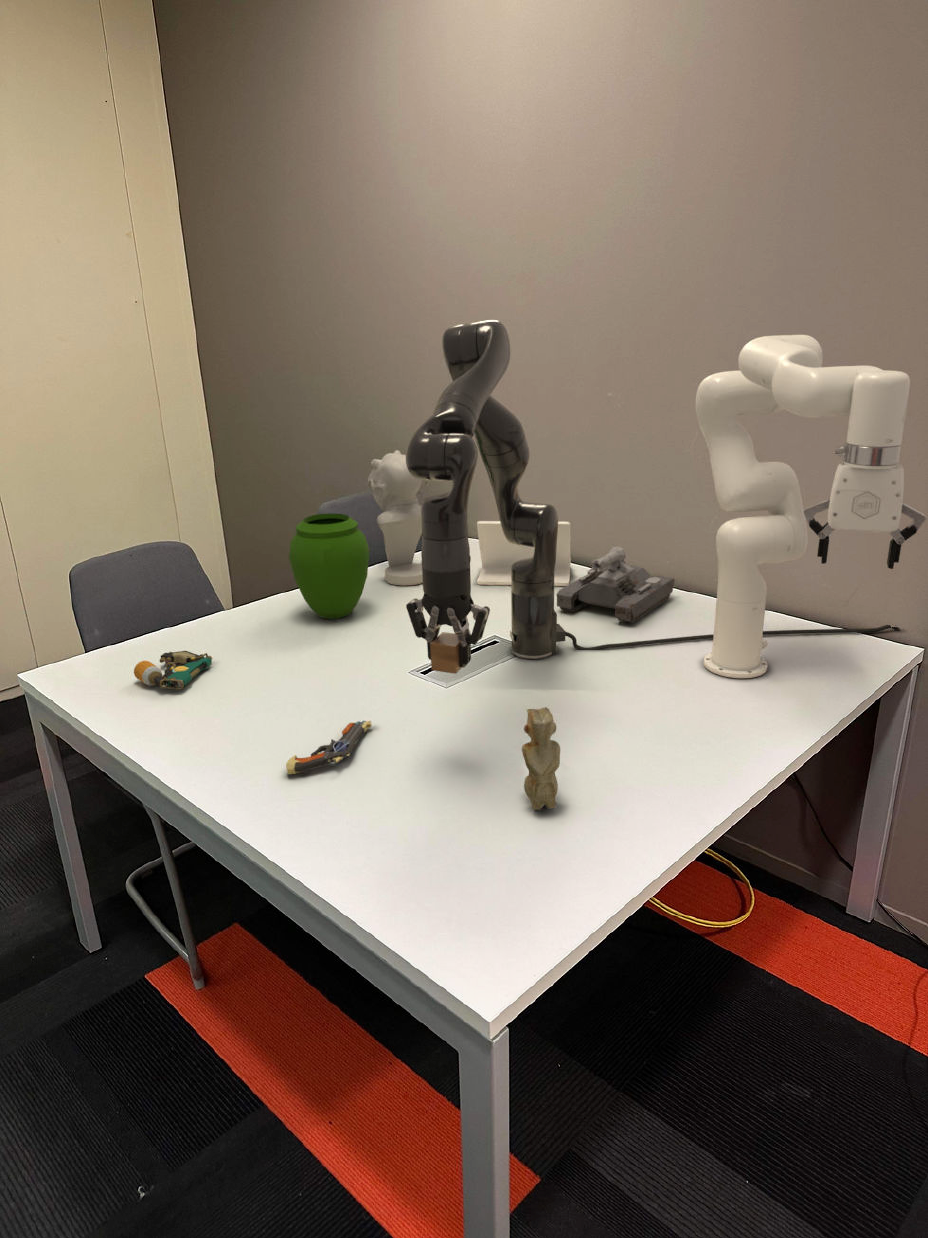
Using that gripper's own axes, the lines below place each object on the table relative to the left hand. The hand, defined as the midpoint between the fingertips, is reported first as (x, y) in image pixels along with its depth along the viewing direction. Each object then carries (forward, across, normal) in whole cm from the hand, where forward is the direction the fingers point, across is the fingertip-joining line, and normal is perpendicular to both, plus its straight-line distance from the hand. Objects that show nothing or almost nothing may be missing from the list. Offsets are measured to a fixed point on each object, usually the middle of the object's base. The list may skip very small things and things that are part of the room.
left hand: (449, 663), depth 139 cm
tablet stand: (+18, -19, +101) cm, 104 cm away
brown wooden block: (0, 0, 0) cm, 0 cm away
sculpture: (+18, +18, -8) cm, 26 cm away
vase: (+18, -55, +57) cm, 81 cm away
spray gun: (+18, -69, +13) cm, 72 cm away
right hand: (-14, +60, +26) cm, 67 cm away
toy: (+18, +10, +84) cm, 86 cm away
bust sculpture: (+18, -53, +89) cm, 106 cm away
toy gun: (+18, -21, -4) cm, 28 cm away
